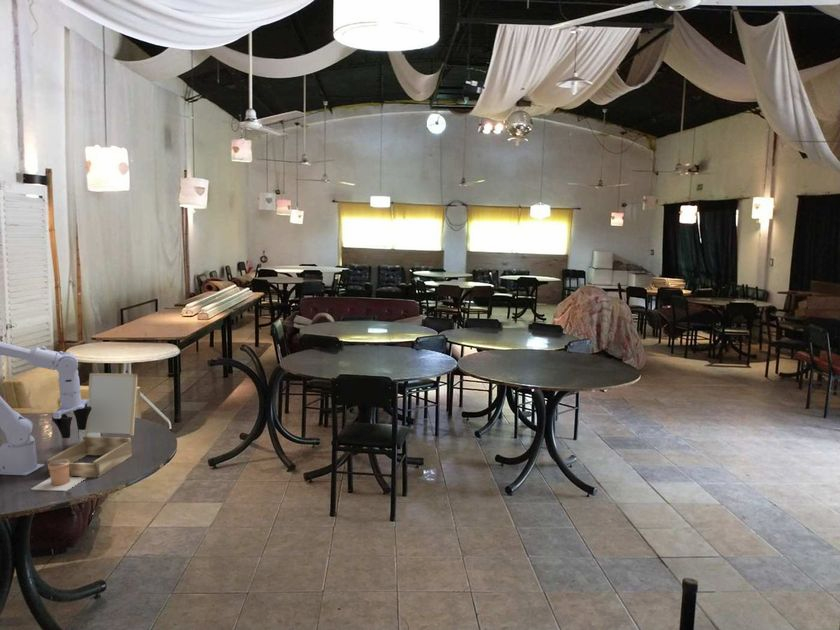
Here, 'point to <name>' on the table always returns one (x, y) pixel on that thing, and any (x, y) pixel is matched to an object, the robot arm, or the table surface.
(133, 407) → the lid
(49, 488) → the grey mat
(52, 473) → the terracotta flower pot
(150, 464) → the table surface
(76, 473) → the cold frame
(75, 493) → the table surface
